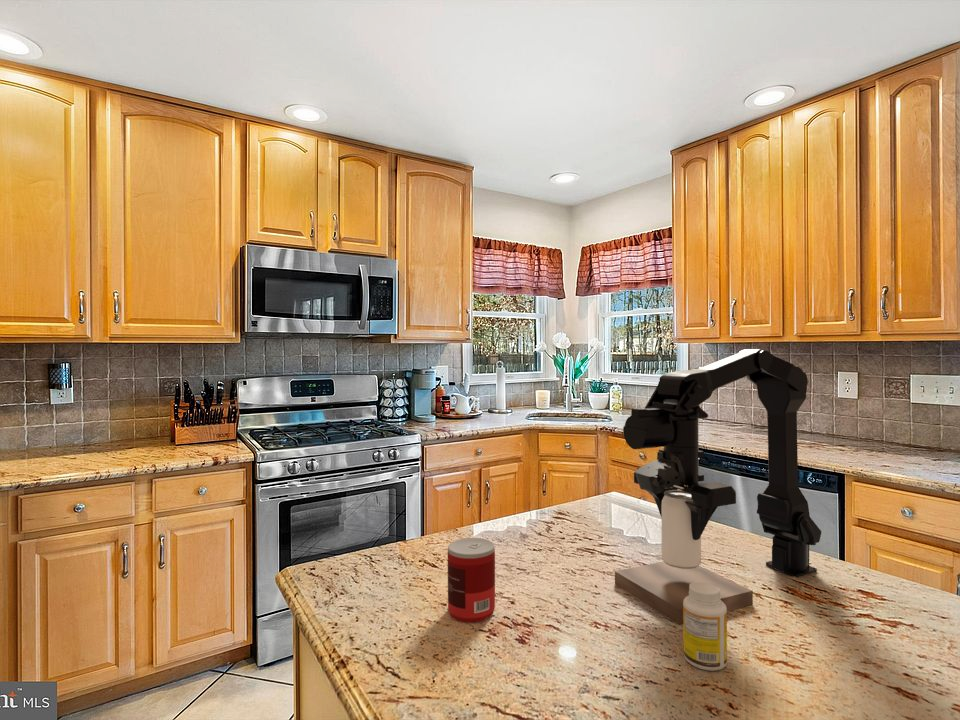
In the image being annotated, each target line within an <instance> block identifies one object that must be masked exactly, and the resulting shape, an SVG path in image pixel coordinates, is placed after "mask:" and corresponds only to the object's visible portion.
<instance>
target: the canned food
mask: <svg viewBox="0 0 960 720" xmlns="http://www.w3.org/2000/svg"><path fill="white" fill-rule="evenodd" d="M495 609H496V549H495V543H494V542H492V541H491V540H489V539H486V538H482V537H465V538H460V539H457V540H453V541H451V542H450V543H449V544H448V546H447V610H448V613H449V616H450V617H451V618H452V619H453V620H455V621H457V622H460V623H466V624H472V623H473V624H475V623H480V622H484V621H487V620H488V619H490V618H491V617H492V616H493V614H494V611H495Z"/></svg>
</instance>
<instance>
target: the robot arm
mask: <svg viewBox="0 0 960 720" xmlns="http://www.w3.org/2000/svg"><path fill="white" fill-rule="evenodd" d="M745 377H746V378H747V380H748V381H750V382H751V383H753V384H754V385H755V386H756V389H757V390H756V391H757V397H758V400H760V402H761V403H762V405H763V407H764V408H765V411H766V413H767V415H766V416H767V454H768V455H767V456H768V458H767V459H768V463H767V464H768V465H767V466H768V467H767V469H768V485H767V486H766V488H765V490H764V491H763V492H762V493H760V492H759V493H758V494H757V495H756V500H757V501H756V502H757V509H756V514H758V517H759V518H758V519H759V521H760V522H761V526H762V528H763V533H766V534H769V535H773V536H772V545H771V560H769V561H765V566H766V567H769V568H773V569H775V570H777V571H779V572H782V573H784V574H787V575H789V576H791V577H799V576H804V575H805V576H806V575H807V574H812V573H816V572H818V570H817V568H816V567H813V566H811V565H810V546H816V545H817V543H820V540H821V535H822V530H821V528H820V527H819V526H818V525H817V524H816V522H814V520H813V519H812V517H811V516H810V508H809V503H808V500H807V499H806V497H805V496H804V494H803V492H802V490H801V489H800V487H799V473H798V472H799V469H798V468H799V466H798V465H799V464H798V463H799V462H798V458H799V457H798V455H799V454H798V417H797V416H798V411H799V409H800V408H801V407H802V405H803V404H804V402H805V401H806V399H807V390H808V383H809V379H808V375H807V374H806V372H804V371H803V369H802V368H801V367H799V366H796V365H794V364H793V363H791V362H788V361H787V360H784V359H782V358H780V357H777V356H776V355H773V354H772V353H771V352H770V351H769V350H766V349H764V348H745V349H742V350H740V351H739V352H738V353H735V354H733V355H730V356H727V357H725V358H722V359H720V360H717V361H715V362H713V363H709V364H708V365H707V364H706V365H705V366H702V367H698V368H696V369H688V370H686V369H685V370H677V371H672V372H665V373H664V374H662V375H661V376H660V377H659V381H658V383H657V386H656V388H655V390H654V391H653V393H652V394H651V396H650V398H649V400H648V401H647V403H646V405H645V406H644V408H639V407H633V408H631V411H630V413H631V415H630V416H629V417H628V418H627V419H625V423H624V426H623V428H622V429H623V430H622V433H623V438H624V441H625V443H626V444H627V446H629V447H630V448H631V449H633V450H643V449H652V448H653V449H654V448H660V447H661V448H663V449H661V448H660V449H658V451H657V452H656V459H655V460H653V461H650V462H648V463H646V464H644V465H643V466H641V467H637V468H636V470H635V471H634V472H633V483H634V484H637V485H638V486H639V488H640V490H644V491H646V492H647V493H648V494H649V495H651V496H652V497H653V500H654V501H655V504H656V506H657V509H658V512H659V515H660V516H661V507H662V499H663V497H664V492H665V491H669V490H682V491H686V492H689V493H691V497H692V499H693V501H686V502H685V503H686V505H687V506H688V507H689V508H690V510H691V527H692V537H693V540H698V539H699V538H700V537H701V538H702V535H703V533H704V531H705V529H706V527H707V525H708V523H709V521H710V519H711V518H712V516H713V514H715V511H716V510H717V509H718V507H723V506H729V505H736V504H737V492H736V489H734V487H733V486H732V485H728V484H725V483H721V482H717V481H710V482H704V481H705V474H702V473H699V471H700V470H699V464H700V463H699V458H705V451H703V450H699V420H700V419H707V418H708V417H709V414H708V413H707V412H706V411H705V410H703V409H702V407H701V406H700V405H702V404H703V403H704V402H706V401H707V400H709V399H710V398H711V397H712V394H713V392H714V391H716V390H717V389H720V388H722V387H724V386H726V385H727V386H728V384H732V383H733V382H736V381H739V380H741V379H742V378H745ZM700 482H704V483H700Z"/></svg>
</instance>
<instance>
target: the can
mask: <svg viewBox="0 0 960 720" xmlns="http://www.w3.org/2000/svg"><path fill="white" fill-rule="evenodd" d="M686 501H693V499H692V497H691V493H689V492H686V491H682V490H679V489H678V490H669V491H665V492H664V497H663V499H662V507H661V515H660V518H661V521H660V522H661V559H662V562H663V561H664V562H665V563H666V564H668V565H670V566H672V567H676V568H682V569H691V568H696V567H698V566H701V563H702V536H701V537H700V538H699V539H698V540H693V537H692V527H691V510H690V508H689V507H688V506H687V505H686V503H685V502H686Z"/></svg>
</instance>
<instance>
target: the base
mask: <svg viewBox="0 0 960 720" xmlns="http://www.w3.org/2000/svg"><path fill="white" fill-rule="evenodd" d="M693 582H707V583H711V584H714V585H716V586H717V587H718V588H719V589H720V596H721V599H720V600H721V601H722V602H723V603H724V604H725V605H726V608H727V613H729V612H733V611H737V610H740V609H745V608H748V607H752V606H753V604H754V603H753V600H754V599H753V598H754V595H753V594H754V592H753V590H752V589H750V588H748V587H745V586H743V585H741V584H739V583H737V582H735V581H733V580H730V579H728V578H727V577H724V576H722V575H721V574H719V573H716V572H713V571H711V570H709V569H707V568H705V567H703V566H701V565H699V566H698V567H696V568H691V569H682V568H676V567H672V566H670V565H668V564H666V563H665V562H664V561H663V560H662V561H659V562H654V563H649V564H645V565H644V564H643V565H639V566H633V567H630V568H625V569H624V568H623V569H618V570H615V571H614V586H617V587H618V588H620V589H621V590H622V591H624V592H626V593H627V594H629V595H631V596H632V597H634V598H635V599H637V600H638V601H640V602H642V603H643V604H645V605H647V606H648V607H650V608H652V609H653V610H655V612H658V613H660V614H661V615H662V616H664V617H666V618H667V619H669V620H671V621H672V622H674V623H675V624H677V625H679V626H680V625H683V601H684V599H685V597H687V596H688V595H689V585H690V584H691V583H693Z"/></svg>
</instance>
